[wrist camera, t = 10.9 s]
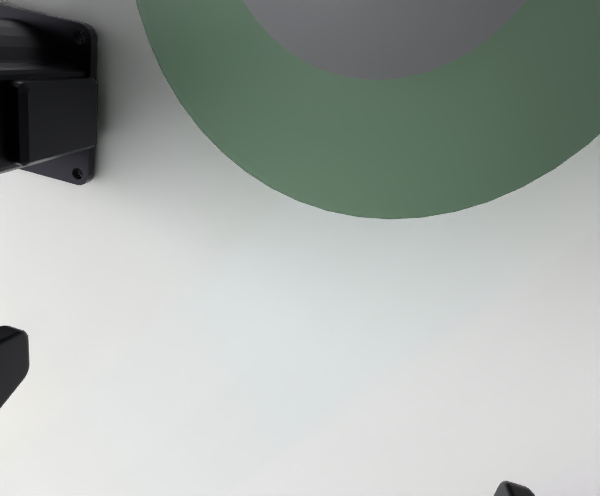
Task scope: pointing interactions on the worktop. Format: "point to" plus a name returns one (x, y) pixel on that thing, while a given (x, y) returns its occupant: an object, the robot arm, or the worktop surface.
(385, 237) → the worktop surface
